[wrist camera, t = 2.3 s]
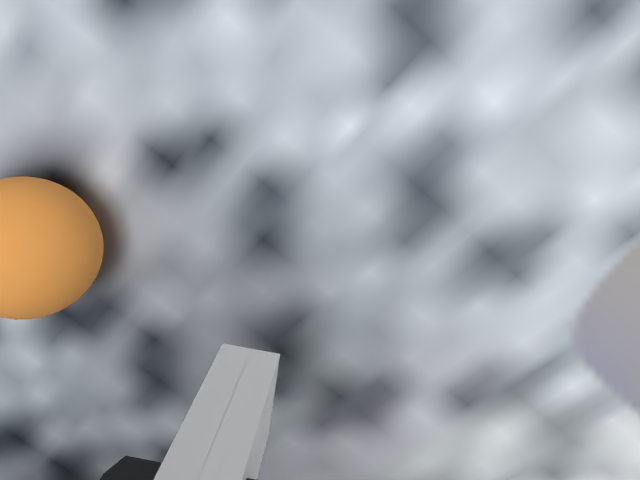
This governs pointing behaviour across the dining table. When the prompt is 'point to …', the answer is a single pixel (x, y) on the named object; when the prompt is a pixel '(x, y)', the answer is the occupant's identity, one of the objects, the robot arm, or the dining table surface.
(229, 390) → the robot arm
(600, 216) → the dining table surface
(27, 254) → the ball
